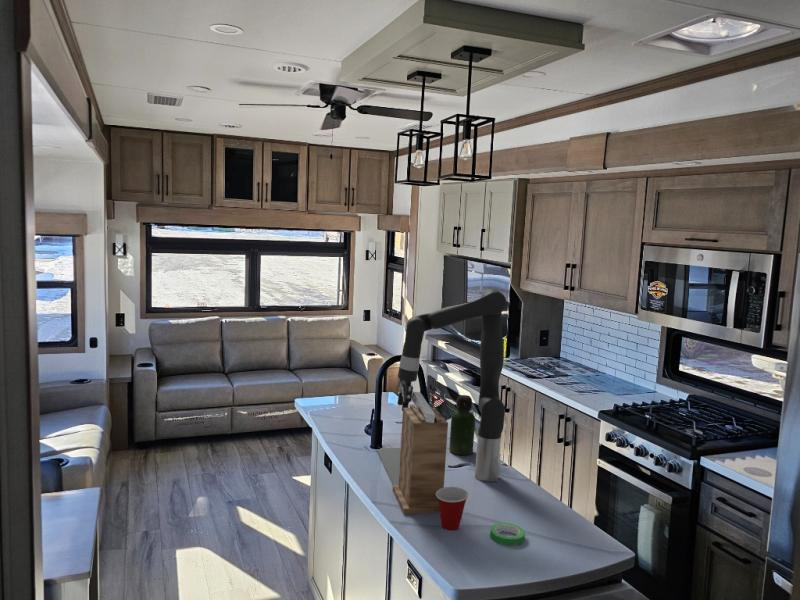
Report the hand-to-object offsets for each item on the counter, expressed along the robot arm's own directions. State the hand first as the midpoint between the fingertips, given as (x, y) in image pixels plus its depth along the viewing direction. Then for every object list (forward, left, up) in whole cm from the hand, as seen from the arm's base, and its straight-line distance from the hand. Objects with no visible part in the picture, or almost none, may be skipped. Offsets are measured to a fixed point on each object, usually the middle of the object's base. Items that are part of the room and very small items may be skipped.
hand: (402, 407), depth 260 cm
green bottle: (-17, -36, -27) cm, 48 cm away
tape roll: (-49, +35, -27) cm, 66 cm away
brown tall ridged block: (-15, +21, -27) cm, 37 cm away
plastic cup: (-30, +36, -27) cm, 54 cm away
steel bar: (-13, +17, +5) cm, 22 cm away
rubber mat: (+1, -7, -27) cm, 28 cm away
